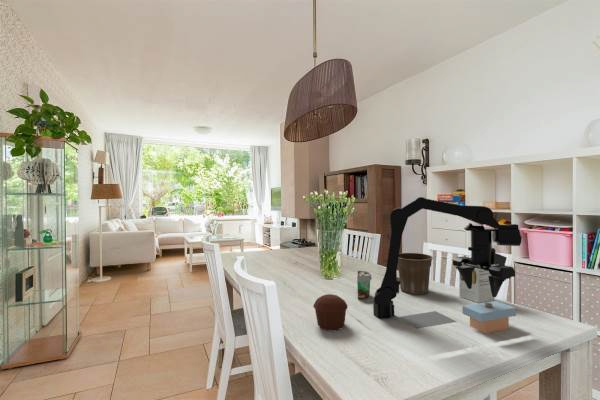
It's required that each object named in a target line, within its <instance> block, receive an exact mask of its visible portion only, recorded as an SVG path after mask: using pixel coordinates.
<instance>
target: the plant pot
mask: <svg viewBox="0 0 600 400" xmlns="http://www.w3.org/2000/svg"><path fill="white" fill-rule="evenodd" d="M433 259H434V257H433V256H432V255H431V254H426V253H418V252H401V253H400V252H399V258H398V265H397V270H398V277H400V278H401V281H400V285H399V290H400V291H402V292H404V293H405V294H410V295H423V294H428V292H429V287H430V286H429V285H430V274H431V267H432V261H433Z"/></svg>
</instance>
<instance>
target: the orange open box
mask: <svg viewBox="0 0 600 400" xmlns="http://www.w3.org/2000/svg"><path fill="white" fill-rule="evenodd" d="M509 318H510V317H506V318H500V319H495V320H489V321H483V322H480V321H478V320H476V319H474V318H471V317H469V326H470V327H471V328H473V329H475V330H478V331H480V332H482V333H483V334H488V333H493V332H497V331H503V330H508V329H510V323H509V322H510V321H509Z"/></svg>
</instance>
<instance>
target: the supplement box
mask: <svg viewBox="0 0 600 400" xmlns="http://www.w3.org/2000/svg"><path fill="white" fill-rule="evenodd" d="M469 257H470V258H471V256H469ZM478 266H479V265H478ZM492 266H494V265H492ZM458 276H459V287H458V288H459V291H458V292H459V297H461V298H463V299H466V300H469V301H471V302H474V303H475V304H478V303H485V302H492V301H495V297H493V296H492V293H491V288H490V282H489V277H488V276H491V274H490V273H489V271H487V270H483V269H479V268H475V269H474V271H473V272H472V288H471V289H468V287H467V285H466V283H465V281H464V279H463V278H462V276H461V274H460V273H459V275H458Z"/></svg>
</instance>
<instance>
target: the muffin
mask: <svg viewBox="0 0 600 400" xmlns="http://www.w3.org/2000/svg"><path fill="white" fill-rule="evenodd" d="M313 308H314V311H315V316H316V322H317V326H318V325H319V326H320V327H319V326H318V327H319V328H320V329H321V328H322V330H325V331H334V330H336V331H339V330H341V328H342V327H344V326H345V322H346V314H347V309H348V304H347V303H346V301H345V299H343V298H342V297H340V296H339V295H337V294H332V293H330V294H328V293H327V294H323V295H321V296H319V297H317V298H316V300H315V301H314V303H313ZM342 329H343V328H342Z"/></svg>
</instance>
